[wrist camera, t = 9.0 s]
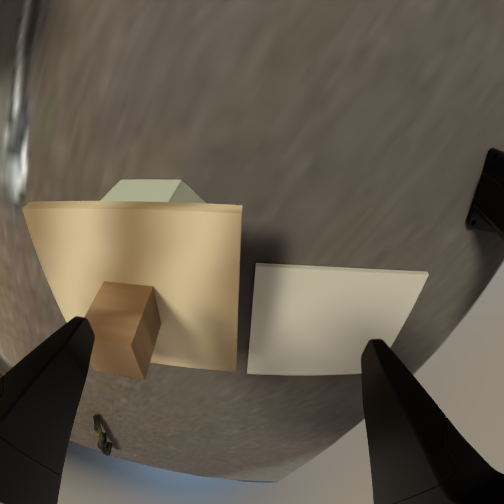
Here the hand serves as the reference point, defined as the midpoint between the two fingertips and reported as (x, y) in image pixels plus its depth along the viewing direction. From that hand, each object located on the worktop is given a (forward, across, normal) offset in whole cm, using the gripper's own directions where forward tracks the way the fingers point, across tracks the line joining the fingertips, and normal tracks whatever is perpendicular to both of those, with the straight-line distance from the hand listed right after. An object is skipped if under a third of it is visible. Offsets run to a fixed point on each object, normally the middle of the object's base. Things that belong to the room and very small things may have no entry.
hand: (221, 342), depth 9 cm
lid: (+6, +6, +5) cm, 10 cm away
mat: (+12, -8, +13) cm, 19 cm away
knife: (+11, +28, +50) cm, 59 cm away
